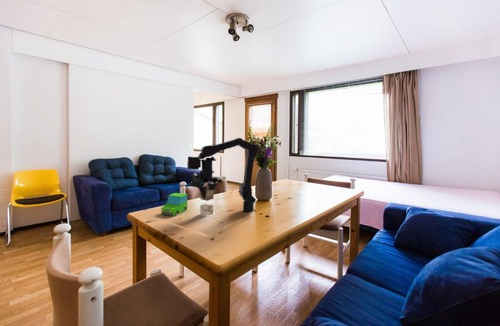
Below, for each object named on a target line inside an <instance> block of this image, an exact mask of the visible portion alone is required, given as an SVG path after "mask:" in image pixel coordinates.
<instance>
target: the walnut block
mask: <svg viewBox="0 0 500 326" xmlns="http://www.w3.org/2000/svg"><path fill="white" fill-rule="evenodd" d="M199 192H200V191H199ZM214 192H215V190H211V189H209V188H207V189H206V194H205V198H202V195H201V192H200V195H199V196H200V200H201V201H207V202H208V201H211V200H214Z"/></svg>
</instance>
